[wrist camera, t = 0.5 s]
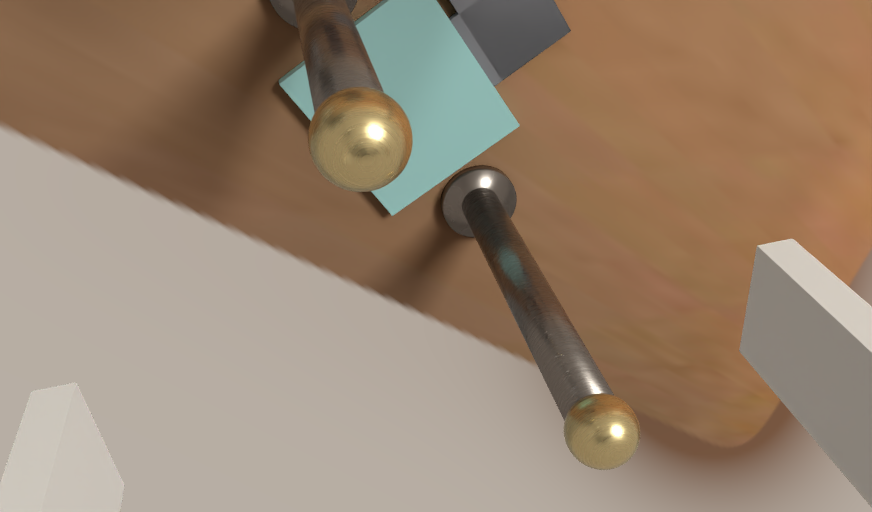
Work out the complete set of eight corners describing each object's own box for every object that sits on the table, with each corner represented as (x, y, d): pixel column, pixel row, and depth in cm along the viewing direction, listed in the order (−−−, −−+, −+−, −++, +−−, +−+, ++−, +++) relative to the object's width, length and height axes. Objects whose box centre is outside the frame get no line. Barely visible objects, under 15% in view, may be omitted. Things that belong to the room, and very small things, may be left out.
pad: (278, 79, 36) (279, 83, 35) (418, -27, 34) (420, -24, 34) (390, 210, 40) (392, 215, 40) (516, 121, 39) (519, 125, 39)
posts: (246, -29, 33) (244, 150, 17) (579, -296, 30) (931, -367, 15) (466, 244, 43) (591, 516, 27) (733, 60, 40) (1043, 244, 24)
